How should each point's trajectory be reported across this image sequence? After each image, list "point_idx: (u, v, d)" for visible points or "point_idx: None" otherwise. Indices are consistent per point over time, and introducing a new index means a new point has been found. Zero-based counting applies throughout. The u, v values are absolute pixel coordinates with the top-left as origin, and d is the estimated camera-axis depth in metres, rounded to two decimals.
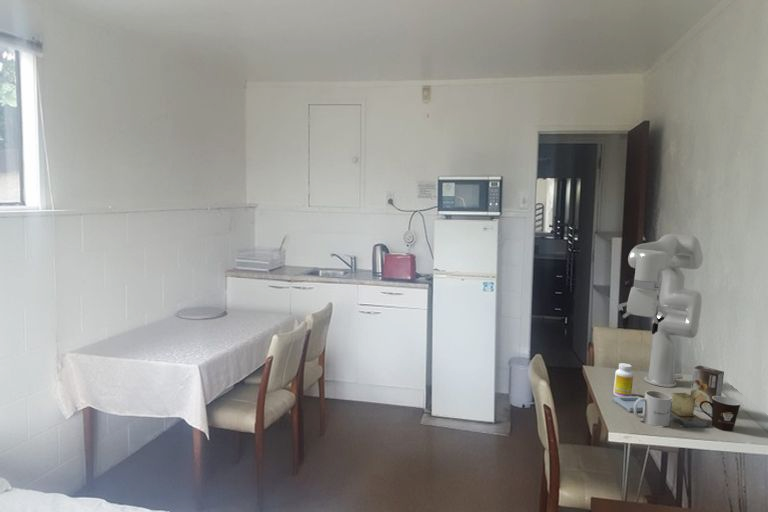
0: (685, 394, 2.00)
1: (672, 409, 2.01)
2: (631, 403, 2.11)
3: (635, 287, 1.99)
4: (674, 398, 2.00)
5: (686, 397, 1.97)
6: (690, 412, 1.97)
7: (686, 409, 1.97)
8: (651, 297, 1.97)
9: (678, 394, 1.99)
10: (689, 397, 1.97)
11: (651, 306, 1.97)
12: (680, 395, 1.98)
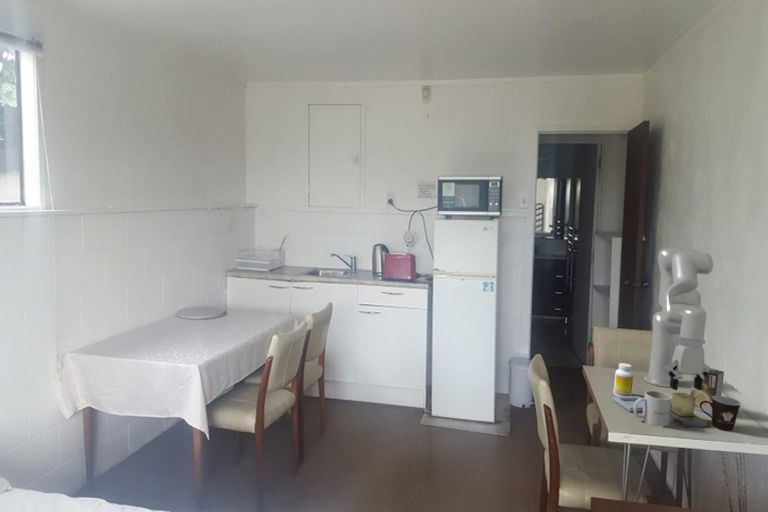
0: (685, 394, 2.00)
1: (672, 409, 2.01)
2: (631, 403, 2.11)
3: (689, 347, 1.93)
4: (674, 398, 2.00)
5: (686, 397, 1.97)
6: (690, 412, 1.97)
7: (686, 409, 1.97)
8: (701, 354, 1.95)
9: (678, 394, 1.99)
10: (689, 397, 1.97)
11: (701, 363, 1.95)
12: (680, 395, 1.98)
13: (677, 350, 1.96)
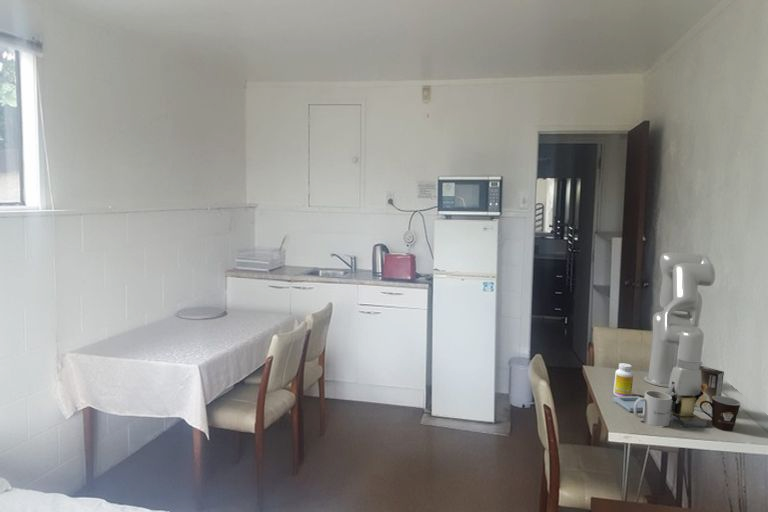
0: None
1: None
2: (631, 403, 2.11)
3: (687, 369, 1.94)
4: None
5: (686, 397, 1.97)
6: (690, 412, 1.97)
7: (686, 409, 1.97)
8: (698, 376, 1.96)
9: None
10: (689, 397, 1.97)
11: (698, 385, 1.96)
12: None
13: (674, 372, 1.97)
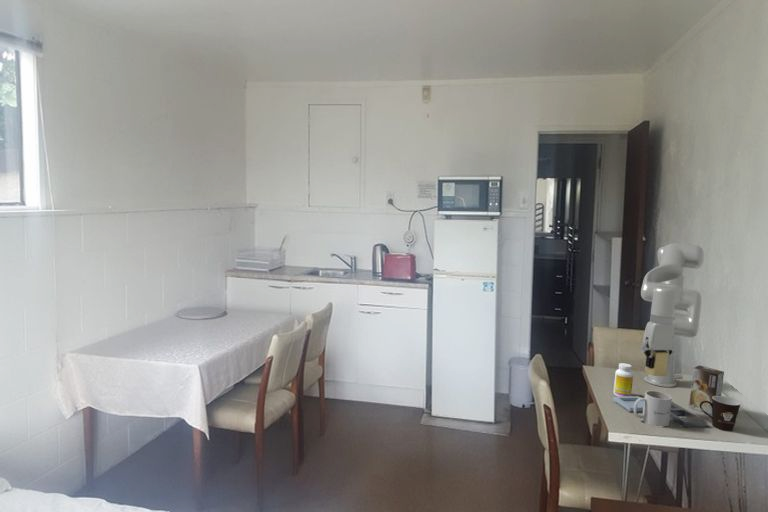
0: None
1: None
2: (631, 403, 2.11)
3: (660, 324, 1.99)
4: None
5: (660, 352, 2.01)
6: (664, 366, 2.02)
7: (660, 363, 2.01)
8: (671, 331, 2.01)
9: None
10: (663, 352, 2.02)
11: (671, 339, 2.01)
12: None
13: (648, 327, 2.02)
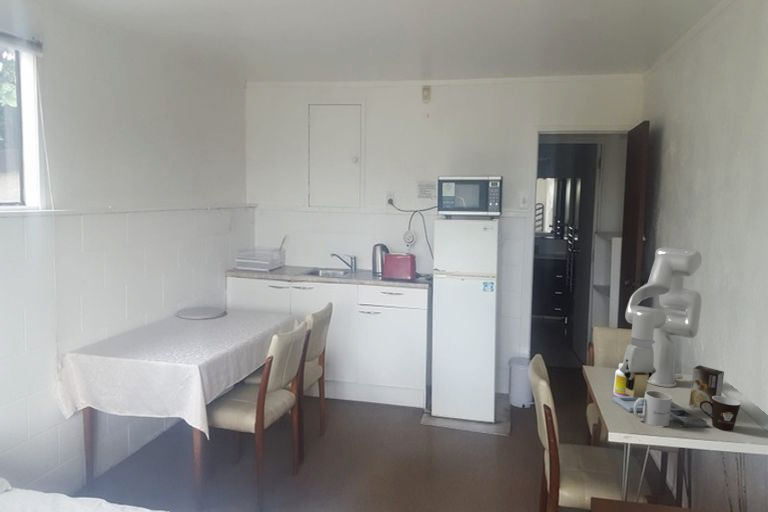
0: None
1: None
2: (631, 403, 2.11)
3: (639, 347, 2.04)
4: None
5: (639, 374, 2.06)
6: (643, 388, 2.06)
7: (639, 385, 2.06)
8: (651, 354, 2.05)
9: None
10: (642, 374, 2.06)
11: (651, 362, 2.06)
12: None
13: (628, 349, 2.07)
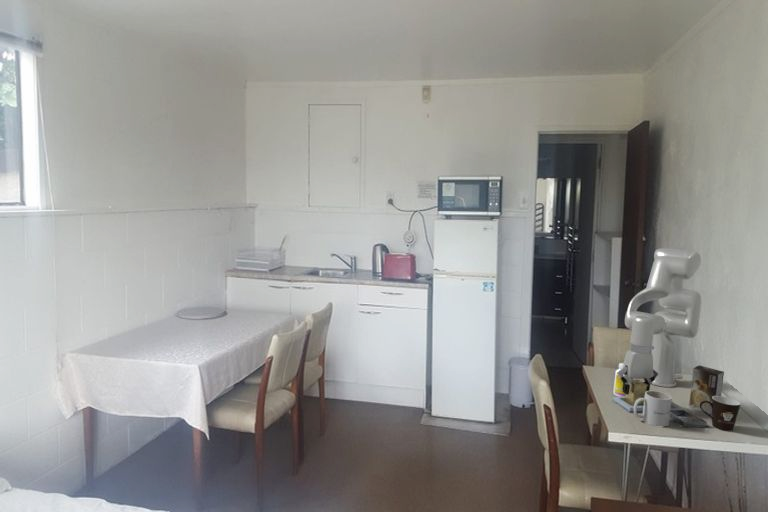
0: (638, 381, 2.10)
1: (626, 395, 2.11)
2: None
3: (638, 353, 2.04)
4: None
5: (638, 384, 2.07)
6: None
7: (638, 395, 2.06)
8: (650, 360, 2.06)
9: (631, 381, 2.09)
10: (641, 384, 2.07)
11: (650, 368, 2.06)
12: (633, 382, 2.08)
13: (627, 356, 2.07)
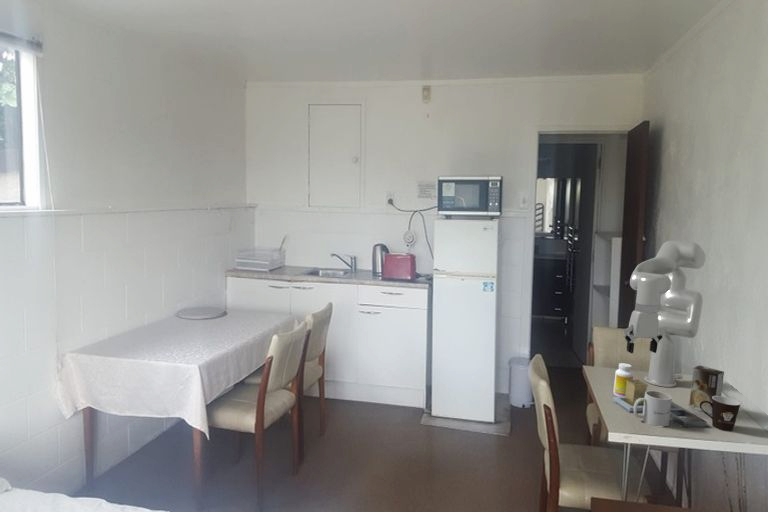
0: (638, 381, 2.10)
1: (626, 395, 2.11)
2: None
3: (644, 312, 2.04)
4: (627, 385, 2.10)
5: (638, 384, 2.07)
6: None
7: (638, 395, 2.06)
8: (656, 319, 2.05)
9: (631, 381, 2.09)
10: (641, 384, 2.07)
11: (656, 328, 2.06)
12: (633, 382, 2.08)
13: (633, 315, 2.07)
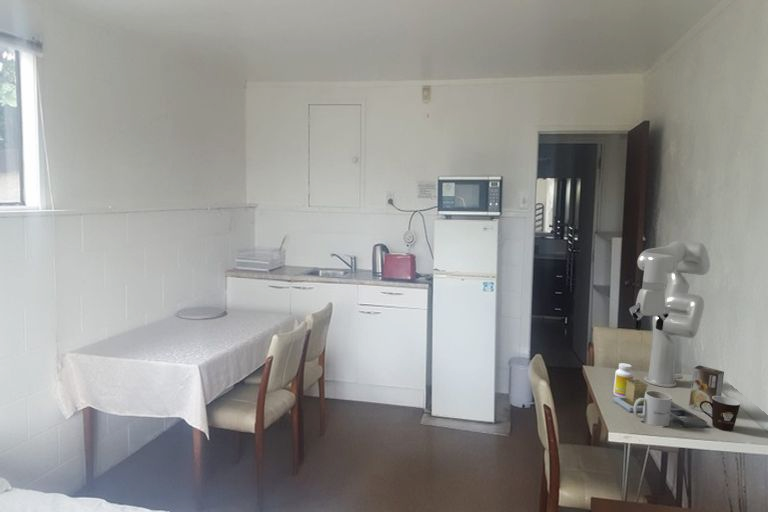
0: (638, 381, 2.10)
1: (626, 395, 2.11)
2: None
3: (651, 290, 2.10)
4: (627, 385, 2.10)
5: (638, 384, 2.07)
6: None
7: (638, 395, 2.06)
8: (662, 297, 2.12)
9: (631, 381, 2.09)
10: (641, 384, 2.07)
11: (662, 305, 2.13)
12: (633, 382, 2.08)
13: (640, 293, 2.13)
